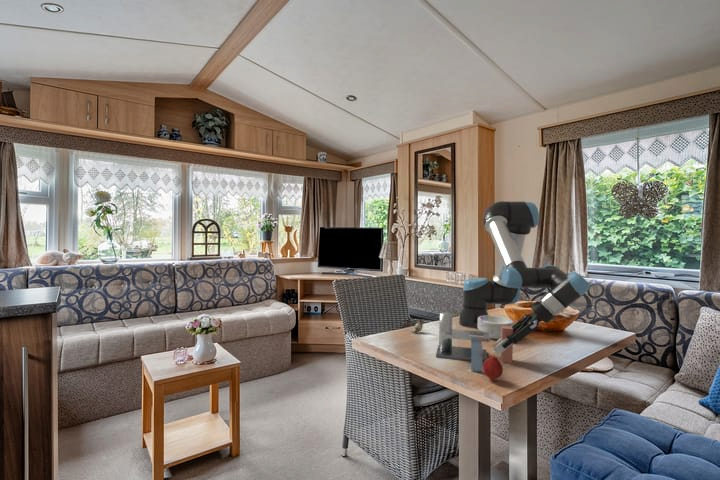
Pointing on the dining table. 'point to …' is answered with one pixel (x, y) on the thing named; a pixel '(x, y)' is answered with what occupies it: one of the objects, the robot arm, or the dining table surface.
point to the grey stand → (461, 353)
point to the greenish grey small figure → (418, 327)
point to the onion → (492, 368)
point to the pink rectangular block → (507, 354)
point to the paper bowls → (493, 325)
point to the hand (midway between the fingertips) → (495, 350)
